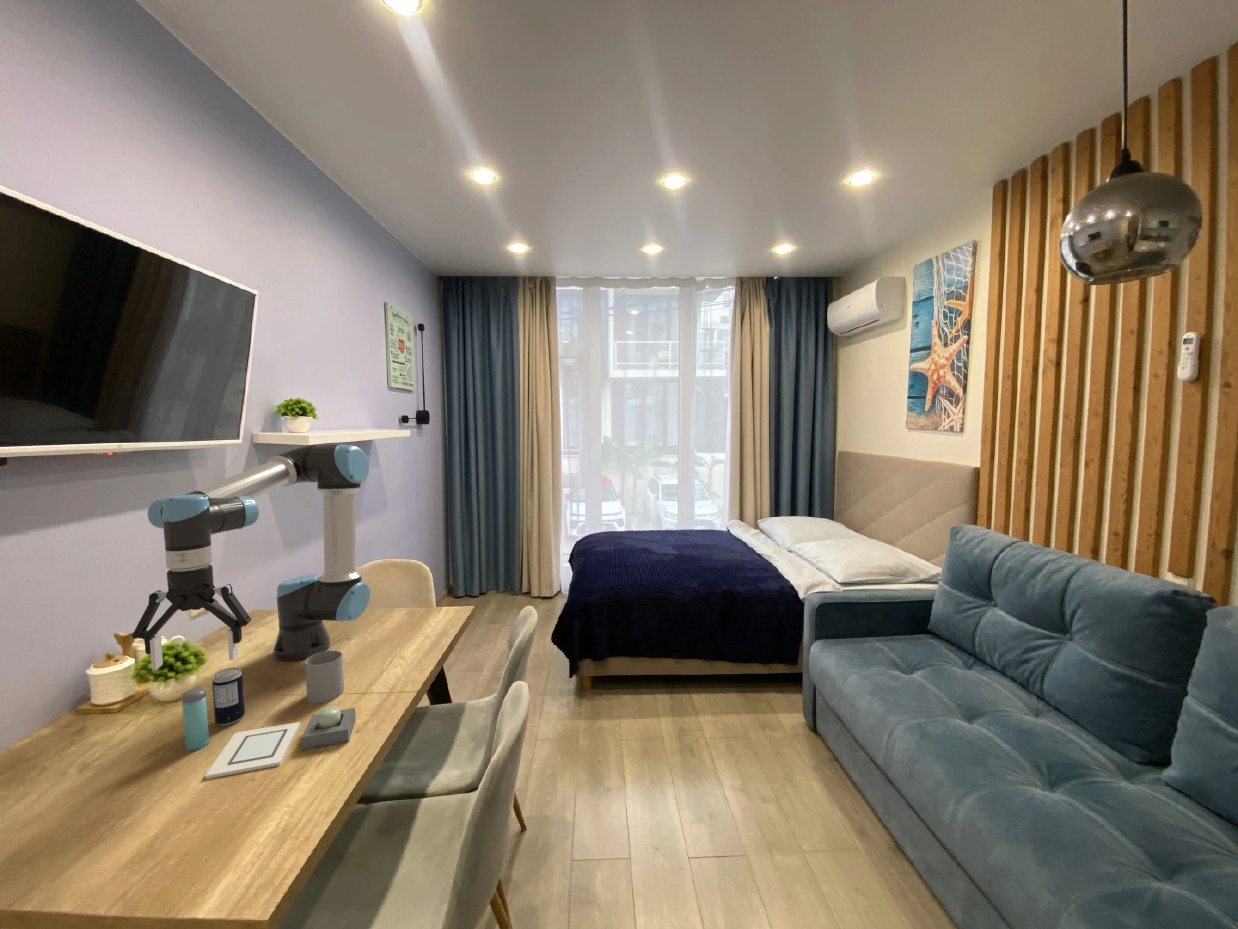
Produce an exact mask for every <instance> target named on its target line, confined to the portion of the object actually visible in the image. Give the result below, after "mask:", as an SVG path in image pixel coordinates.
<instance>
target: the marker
mask: <svg viewBox="0 0 1238 929" xmlns="http://www.w3.org/2000/svg"><path fill="white" fill-rule="evenodd" d="M180 698H181V706H182V718H183V734H184V744H185V745H184V746H185V751H187V752H196V751H198V750H201V749H204V748H205V747H207V746H208V745H209V743H210V736H209V722H208V721H209V720H208V708H207V707H208V706H207V689H206V688H205V687H196V688H192V689H188V690H186V691H185V692H183V693H182V694H181V697H180Z"/></svg>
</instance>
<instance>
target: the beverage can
mask: <svg viewBox="0 0 1238 929" xmlns="http://www.w3.org/2000/svg"><path fill="white" fill-rule="evenodd" d="M244 691H245V690H244V679H243V673H242V671H241V669H240V668H239V667H228V668H224V669H221V670H219V671H217V672H215V673H214V675H213V679H212V695H213V698H212V699H213V711H214V721H215V722H214V723H216V724H218V725H219V726H221V727H223V726H230V725H233V724H236V723H238V722H239V721H240V720H242V717H243V716H244V715H245V714H246V711H245V710H246V709H245V693H244Z"/></svg>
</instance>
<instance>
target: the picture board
mask: <svg viewBox="0 0 1238 929" xmlns="http://www.w3.org/2000/svg"><path fill="white" fill-rule="evenodd" d="M301 724H302V723H301V721H298V722H290V723H284V724H279V725H272V726H267V727H262V728H256V729H255V728H254V729H250V730H245V731H238V732H234V733H233V735H232V736H231V738H230V739H229V740H228V742H227V743H226V745H225V747H224V748H223V749H222V751H221V752H220V753H219V755H218V756H217V758H216V759H215V761H214V762H213V763H212V765H211V766H210V767H209V769H208V770H207V772H206V773H205V775H204V779H205V780H210V779H215V778H218V777H224V776H229V775H235V774H241V773H245V772H247V773H248V772H251V771H257V770H262V769H267V768H273V767H277V766H281V765H282V762H283V761H284V759H285V758H286V755H287V753H288V751H289V749H290V747H291V744H292V743H293V741H294V739H295V737H296V735H297V733H298V731H299V729H300V727H301Z"/></svg>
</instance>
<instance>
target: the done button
mask: <svg viewBox="0 0 1238 929" xmlns="http://www.w3.org/2000/svg"><path fill="white" fill-rule="evenodd" d="M340 710H341V707H340V706H328V707H325V708H323V709H320V710H319V712H318V713H317V714H318V725H319V729H324V728H330V727H336V726H339V725H340V724H341V716H340Z"/></svg>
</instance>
